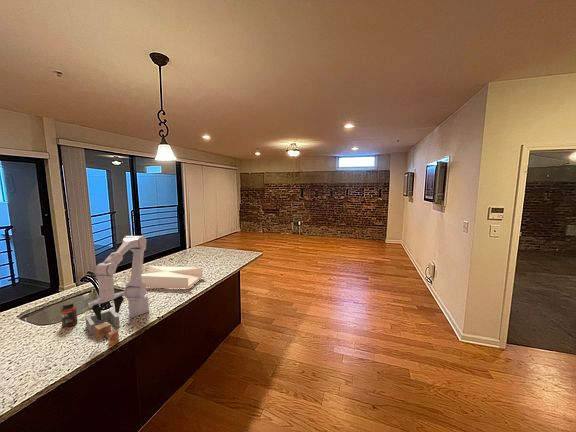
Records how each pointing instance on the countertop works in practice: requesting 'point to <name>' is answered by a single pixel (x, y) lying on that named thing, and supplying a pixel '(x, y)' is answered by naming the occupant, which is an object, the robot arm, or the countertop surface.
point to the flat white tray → (170, 277)
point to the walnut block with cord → (107, 333)
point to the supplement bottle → (68, 314)
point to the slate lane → (105, 316)
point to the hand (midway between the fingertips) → (108, 315)
